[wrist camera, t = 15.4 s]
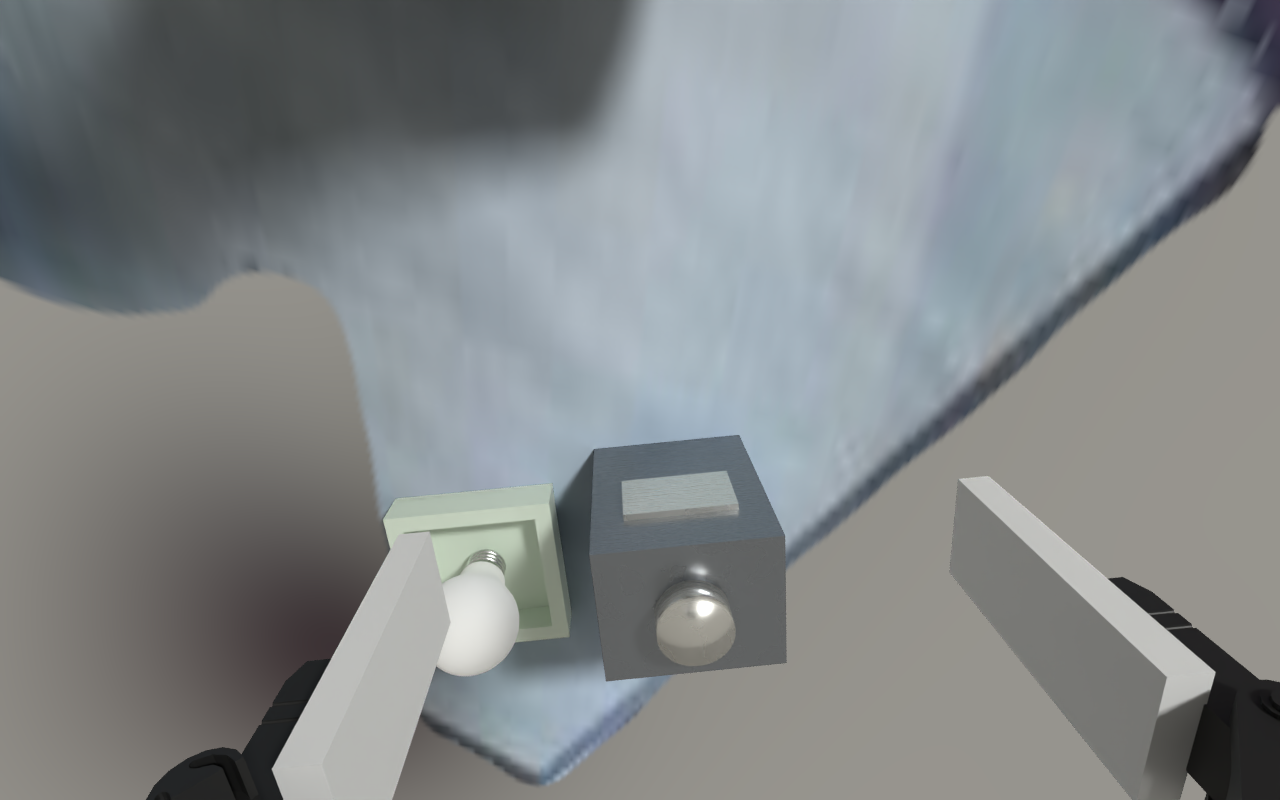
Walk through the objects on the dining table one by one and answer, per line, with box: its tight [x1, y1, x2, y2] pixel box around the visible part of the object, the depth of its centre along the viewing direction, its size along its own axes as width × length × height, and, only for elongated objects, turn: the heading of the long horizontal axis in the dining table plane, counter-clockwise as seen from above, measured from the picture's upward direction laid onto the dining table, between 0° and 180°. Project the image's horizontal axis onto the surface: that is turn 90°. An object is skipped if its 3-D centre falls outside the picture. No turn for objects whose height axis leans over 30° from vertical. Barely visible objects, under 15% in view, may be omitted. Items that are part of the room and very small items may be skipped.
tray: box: [383, 483, 571, 642], centre depth 52 cm, size 12×12×3 cm
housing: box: [589, 435, 786, 681], centre depth 44 cm, size 9×11×16 cm
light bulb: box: [436, 549, 519, 676], centre depth 47 cm, size 7×7×11 cm
